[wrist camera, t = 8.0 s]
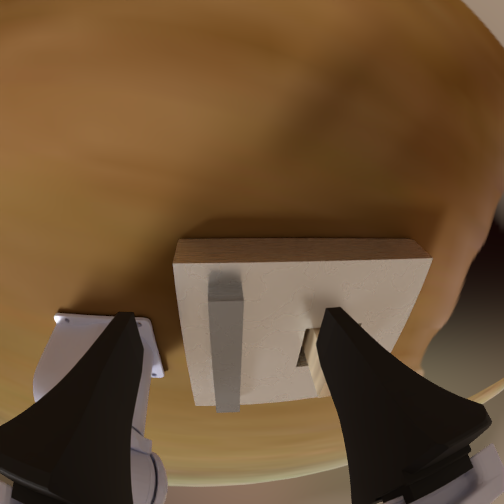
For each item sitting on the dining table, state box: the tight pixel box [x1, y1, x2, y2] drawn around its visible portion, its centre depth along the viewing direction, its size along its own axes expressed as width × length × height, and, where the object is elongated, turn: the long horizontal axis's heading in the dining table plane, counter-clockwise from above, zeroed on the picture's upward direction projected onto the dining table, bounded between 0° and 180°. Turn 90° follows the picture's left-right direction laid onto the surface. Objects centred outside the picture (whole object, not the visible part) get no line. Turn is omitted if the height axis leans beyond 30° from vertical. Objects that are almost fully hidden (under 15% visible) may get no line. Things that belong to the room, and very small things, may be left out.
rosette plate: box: [173, 238, 433, 413], centre depth 22 cm, size 18×16×5 cm
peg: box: [302, 328, 331, 398], centre depth 21 cm, size 3×3×7 cm
